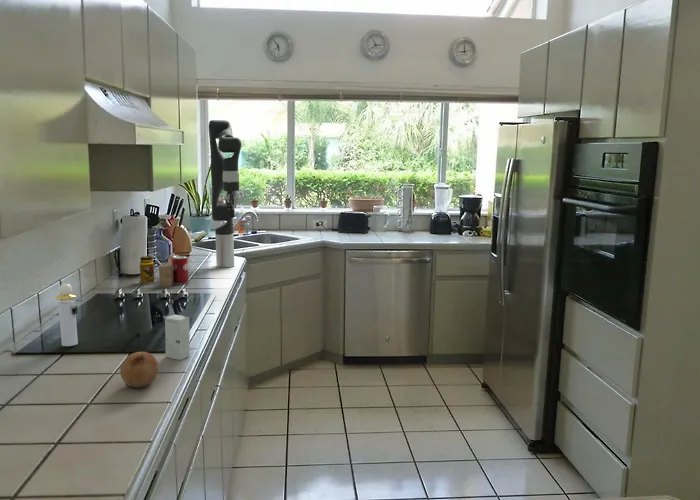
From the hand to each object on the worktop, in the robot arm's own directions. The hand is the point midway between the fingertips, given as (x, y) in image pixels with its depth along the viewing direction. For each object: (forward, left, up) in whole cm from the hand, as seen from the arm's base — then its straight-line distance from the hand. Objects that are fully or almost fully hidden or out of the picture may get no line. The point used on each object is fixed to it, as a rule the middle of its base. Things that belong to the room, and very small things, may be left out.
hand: (232, 217), depth 285 cm
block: (+19, -26, -29) cm, 43 cm away
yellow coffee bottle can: (+13, -38, -29) cm, 50 cm away
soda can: (+13, -21, -29) cm, 39 cm away
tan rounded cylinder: (+5, -27, -29) cm, 40 cm away
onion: (+134, +11, -29) cm, 138 cm away
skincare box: (+112, +13, -29) cm, 116 cm away
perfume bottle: (+105, -24, -29) cm, 112 cm away
